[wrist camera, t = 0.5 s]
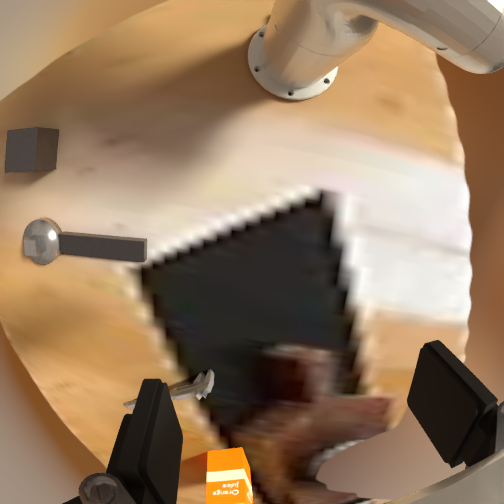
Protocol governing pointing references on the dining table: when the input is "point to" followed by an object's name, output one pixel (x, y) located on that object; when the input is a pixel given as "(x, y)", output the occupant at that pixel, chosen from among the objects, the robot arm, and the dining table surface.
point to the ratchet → (78, 244)
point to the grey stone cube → (31, 150)
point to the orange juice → (228, 477)
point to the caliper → (188, 389)
